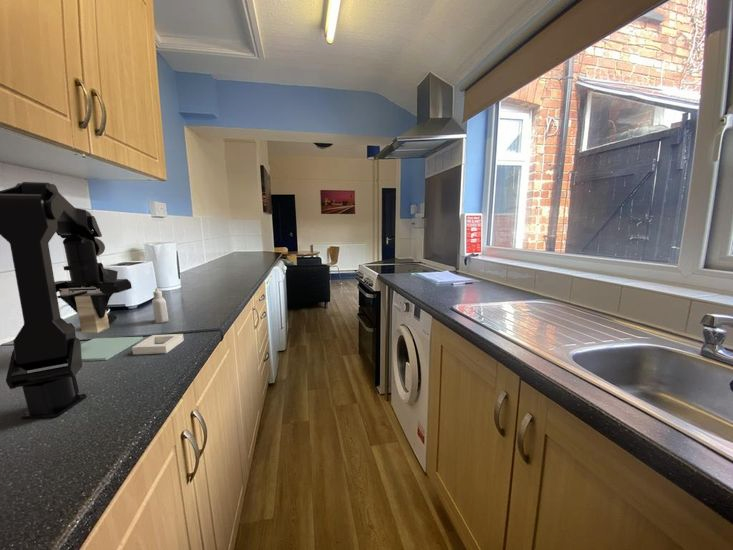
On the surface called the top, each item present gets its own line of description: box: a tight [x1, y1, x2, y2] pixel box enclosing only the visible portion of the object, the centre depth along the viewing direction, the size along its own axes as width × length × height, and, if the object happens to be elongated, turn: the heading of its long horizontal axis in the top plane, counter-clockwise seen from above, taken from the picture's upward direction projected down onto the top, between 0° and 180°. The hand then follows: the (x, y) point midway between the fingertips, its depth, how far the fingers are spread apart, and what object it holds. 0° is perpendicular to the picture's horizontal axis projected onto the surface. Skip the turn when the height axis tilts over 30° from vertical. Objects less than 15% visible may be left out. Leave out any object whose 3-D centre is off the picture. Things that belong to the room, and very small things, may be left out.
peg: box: [75, 292, 110, 334], centre depth 81 cm, size 4×4×10 cm
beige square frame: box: [131, 333, 185, 356], centre depth 84 cm, size 8×8×2 cm
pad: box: [80, 336, 144, 362], centre depth 83 cm, size 14×14×1 cm
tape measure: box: [107, 313, 117, 325], centre depth 101 cm, size 7×7×4 cm
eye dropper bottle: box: [151, 287, 169, 324], centre depth 105 cm, size 4×6×12 cm
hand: (93, 318), depth 81 cm, fingers closed on peg, 4 cm apart
